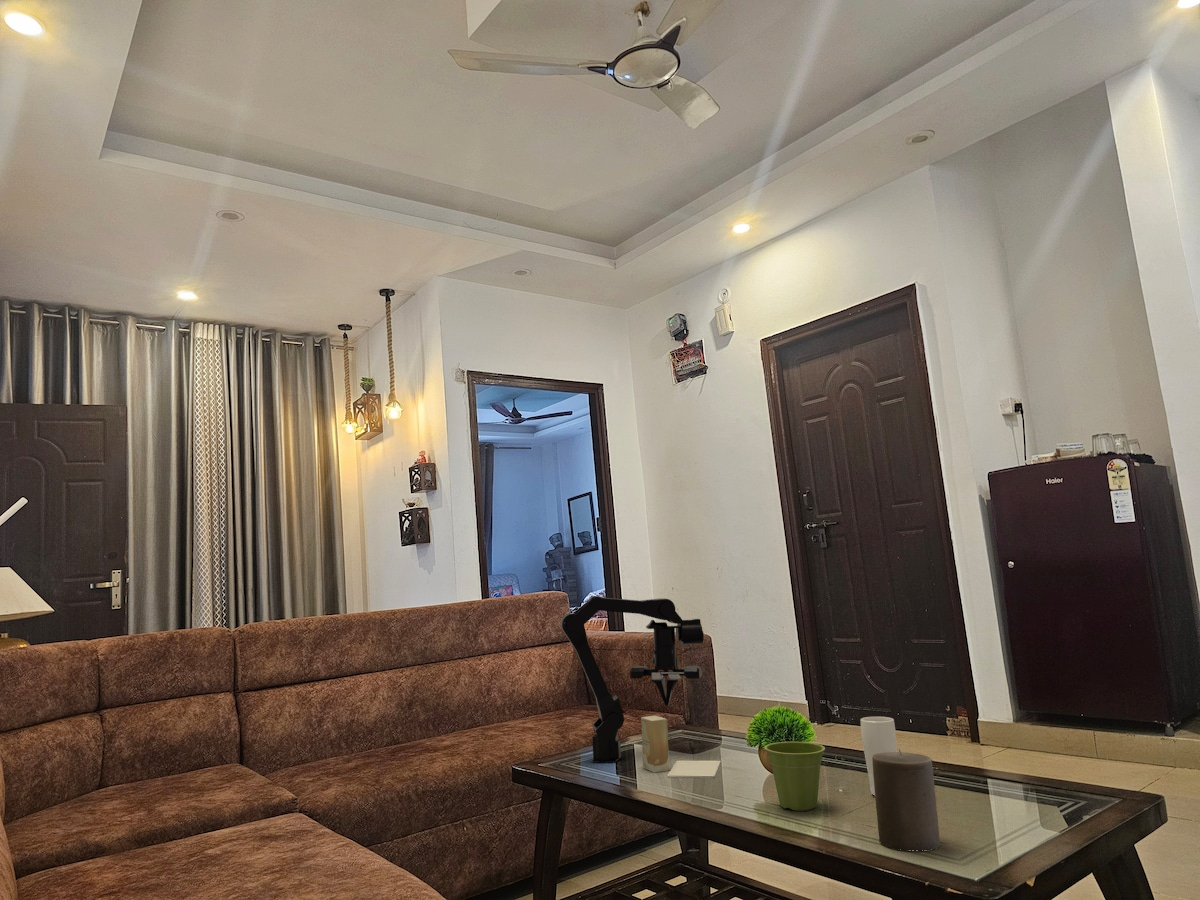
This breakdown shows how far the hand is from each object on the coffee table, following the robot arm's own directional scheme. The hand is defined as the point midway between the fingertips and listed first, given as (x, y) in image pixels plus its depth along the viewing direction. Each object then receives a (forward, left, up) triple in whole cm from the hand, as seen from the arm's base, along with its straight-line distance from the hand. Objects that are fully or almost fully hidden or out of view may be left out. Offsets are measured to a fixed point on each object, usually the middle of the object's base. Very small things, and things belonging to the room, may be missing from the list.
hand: (667, 705), depth 212 cm
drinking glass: (+50, -38, -13) cm, 64 cm away
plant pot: (+33, -47, -13) cm, 59 cm away
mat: (+9, -16, -13) cm, 22 cm away
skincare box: (-1, -16, -13) cm, 20 cm away
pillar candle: (+51, -68, -13) cm, 86 cm away
